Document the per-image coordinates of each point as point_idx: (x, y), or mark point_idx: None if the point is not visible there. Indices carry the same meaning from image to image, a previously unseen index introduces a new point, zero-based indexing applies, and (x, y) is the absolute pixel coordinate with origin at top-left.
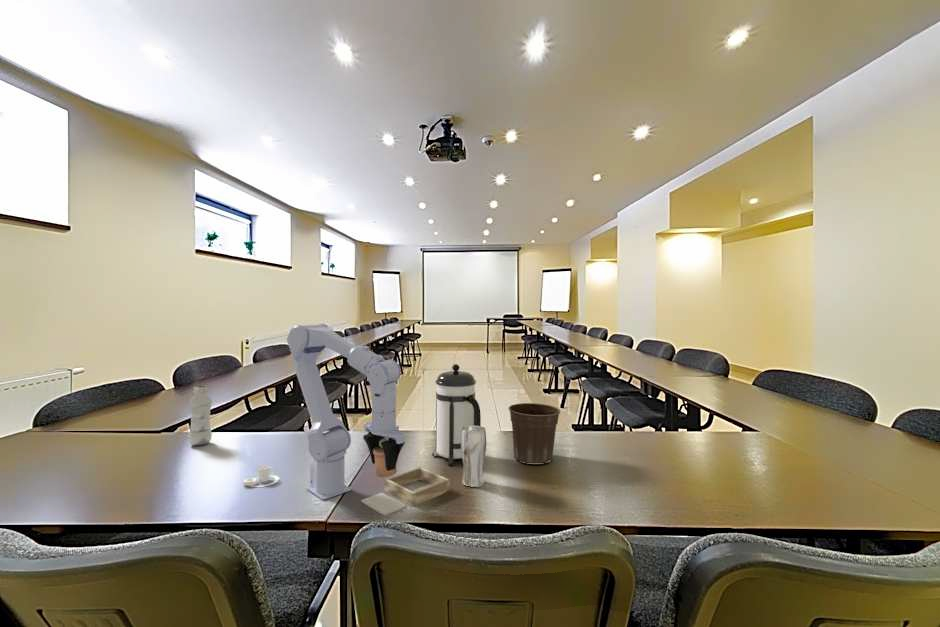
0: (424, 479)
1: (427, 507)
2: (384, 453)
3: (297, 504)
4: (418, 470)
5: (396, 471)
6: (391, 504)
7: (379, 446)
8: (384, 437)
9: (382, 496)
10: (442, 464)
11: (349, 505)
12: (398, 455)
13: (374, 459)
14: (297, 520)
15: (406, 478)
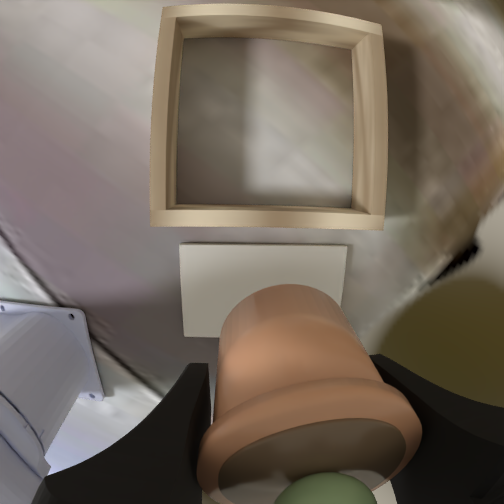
0: (216, 33)
1: (400, 190)
2: (395, 492)
3: (94, 433)
4: (176, 27)
5: (335, 301)
6: (300, 280)
7: (233, 486)
8: (175, 496)
9: (215, 265)
10: None
11: (183, 369)
12: (445, 392)
13: (208, 424)
14: None
15: (173, 101)
